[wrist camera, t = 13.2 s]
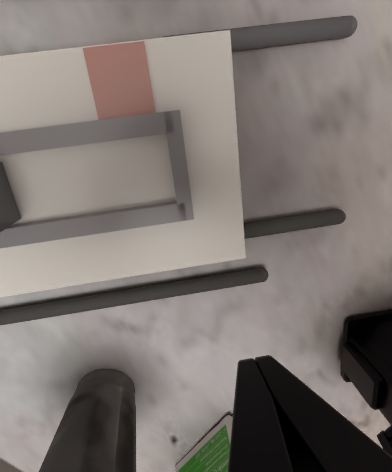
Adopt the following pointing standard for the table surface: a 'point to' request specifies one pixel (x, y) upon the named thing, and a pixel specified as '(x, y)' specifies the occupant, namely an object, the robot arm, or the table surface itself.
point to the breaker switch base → (119, 161)
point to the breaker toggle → (7, 202)
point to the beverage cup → (96, 427)
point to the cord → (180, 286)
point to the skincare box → (210, 451)
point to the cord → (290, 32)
